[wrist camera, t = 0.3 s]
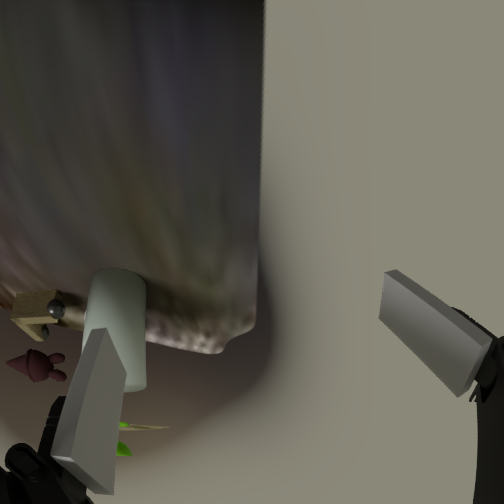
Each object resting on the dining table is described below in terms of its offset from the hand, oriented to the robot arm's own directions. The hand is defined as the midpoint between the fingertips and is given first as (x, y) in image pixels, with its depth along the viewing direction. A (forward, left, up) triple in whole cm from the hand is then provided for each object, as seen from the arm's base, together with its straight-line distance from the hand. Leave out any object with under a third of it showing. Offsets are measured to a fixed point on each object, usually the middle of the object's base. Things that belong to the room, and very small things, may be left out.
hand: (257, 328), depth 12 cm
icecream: (+34, -42, -15) cm, 56 cm away
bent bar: (+18, -26, -15) cm, 35 cm away
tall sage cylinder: (+15, -14, -15) cm, 25 cm away
